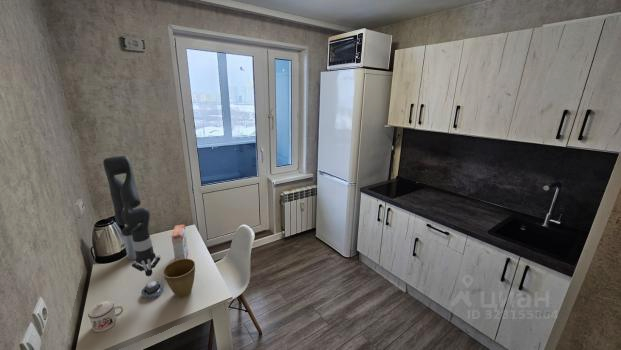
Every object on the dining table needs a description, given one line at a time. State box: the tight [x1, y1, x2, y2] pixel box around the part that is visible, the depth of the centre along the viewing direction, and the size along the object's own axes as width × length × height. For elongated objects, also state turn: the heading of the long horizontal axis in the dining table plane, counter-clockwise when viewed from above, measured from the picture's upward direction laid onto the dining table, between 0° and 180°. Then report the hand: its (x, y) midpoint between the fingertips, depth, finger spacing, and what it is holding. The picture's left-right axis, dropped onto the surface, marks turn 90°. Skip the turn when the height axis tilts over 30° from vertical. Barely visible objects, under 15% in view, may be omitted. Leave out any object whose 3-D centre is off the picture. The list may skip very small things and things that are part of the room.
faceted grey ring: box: [141, 281, 164, 300], centre depth 134 cm, size 10×10×3 cm
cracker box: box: [171, 224, 189, 261], centre depth 159 cm, size 14×6×21 cm, turn 19°
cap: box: [145, 280, 159, 294], centre depth 133 cm, size 6×6×5 cm
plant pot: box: [162, 258, 196, 299], centre depth 132 cm, size 15×15×16 cm
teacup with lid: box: [87, 300, 124, 333], centre depth 114 cm, size 12×9×12 cm
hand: (149, 275), depth 131 cm, fingers closed
